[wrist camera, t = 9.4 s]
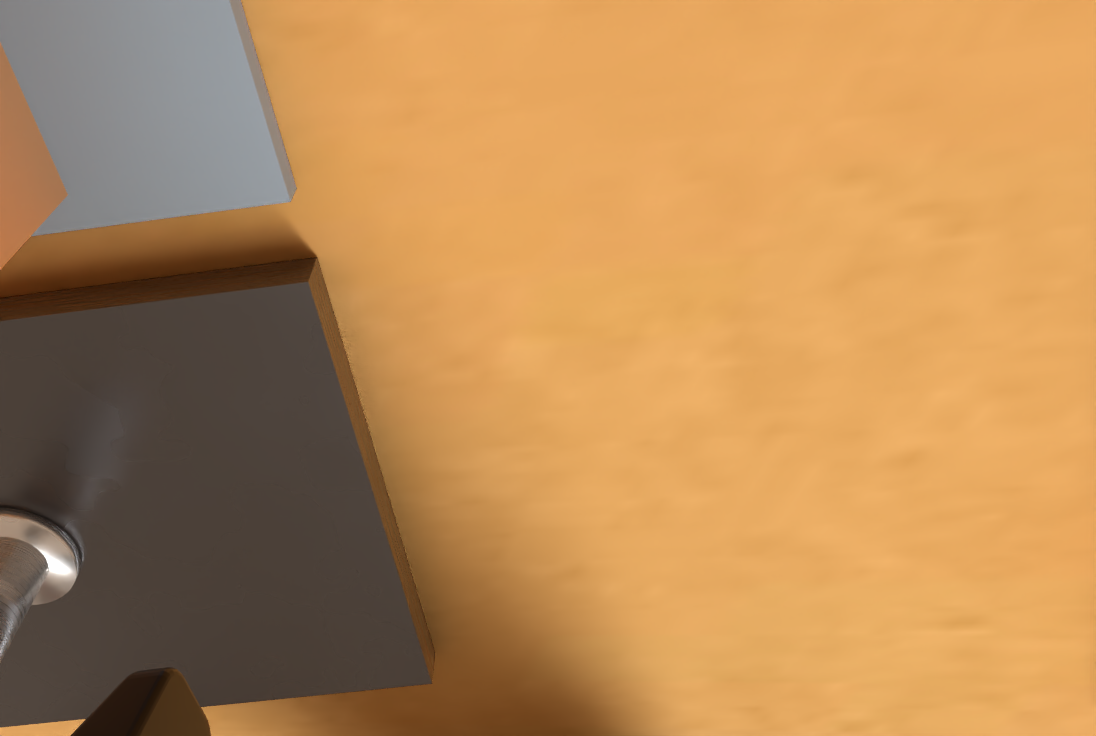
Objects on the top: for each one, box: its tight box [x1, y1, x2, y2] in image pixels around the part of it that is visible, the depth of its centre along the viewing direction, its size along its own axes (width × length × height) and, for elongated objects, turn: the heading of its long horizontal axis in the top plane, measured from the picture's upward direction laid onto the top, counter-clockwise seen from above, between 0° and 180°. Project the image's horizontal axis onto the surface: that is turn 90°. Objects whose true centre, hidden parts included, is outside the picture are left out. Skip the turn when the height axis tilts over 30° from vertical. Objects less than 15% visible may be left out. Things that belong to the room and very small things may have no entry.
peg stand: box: [0, 257, 435, 727], centre depth 21 cm, size 12×12×6 cm
